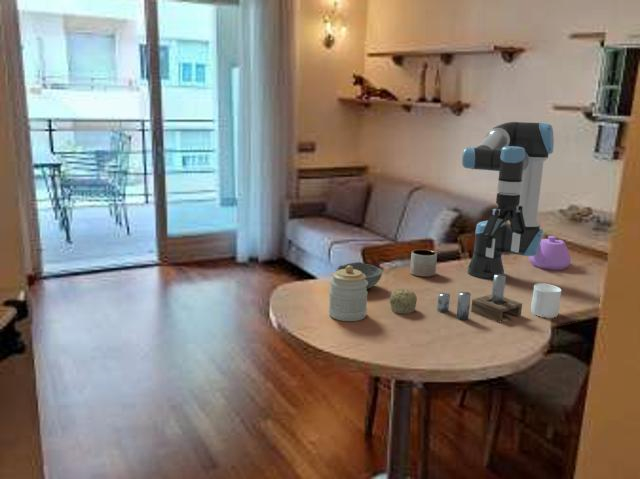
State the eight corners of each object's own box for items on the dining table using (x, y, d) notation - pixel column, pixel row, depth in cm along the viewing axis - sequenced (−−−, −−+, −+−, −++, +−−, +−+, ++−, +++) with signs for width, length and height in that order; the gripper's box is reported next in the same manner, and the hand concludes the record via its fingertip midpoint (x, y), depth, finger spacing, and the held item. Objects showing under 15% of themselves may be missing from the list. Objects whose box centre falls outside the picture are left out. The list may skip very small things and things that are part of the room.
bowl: (348, 297, 220) (349, 277, 218) (328, 283, 236) (329, 264, 234) (390, 292, 227) (391, 272, 225) (368, 279, 243) (369, 260, 241)
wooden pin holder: (493, 305, 216) (494, 293, 215) (520, 315, 207) (522, 303, 206) (471, 311, 209) (472, 299, 208) (498, 322, 200) (500, 309, 199)
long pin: (495, 310, 211) (499, 273, 208) (504, 314, 208) (508, 276, 204) (487, 312, 209) (491, 274, 205) (496, 316, 205) (501, 277, 202)
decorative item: (392, 315, 214) (379, 296, 209) (411, 297, 216) (399, 278, 211) (406, 325, 205) (392, 305, 201) (426, 306, 207) (413, 286, 203)
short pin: (442, 307, 212) (443, 291, 211) (450, 311, 209) (452, 295, 208) (434, 309, 210) (436, 293, 209) (443, 313, 207) (444, 297, 205)
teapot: (545, 257, 285) (548, 230, 282) (579, 266, 272) (583, 237, 269) (514, 265, 270) (517, 236, 267) (549, 275, 257) (553, 244, 254)
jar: (356, 325, 194) (358, 273, 190) (321, 317, 200) (323, 266, 196) (372, 313, 205) (375, 264, 201) (339, 305, 211) (341, 258, 207)
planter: (435, 278, 247) (437, 256, 244) (409, 276, 249) (410, 254, 246) (435, 271, 257) (437, 250, 255) (410, 269, 259) (411, 248, 257)
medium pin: (461, 315, 205) (464, 290, 203) (470, 319, 202) (473, 294, 200) (453, 317, 203) (456, 292, 201) (462, 321, 200) (465, 296, 198)
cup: (543, 320, 203) (547, 293, 201) (523, 310, 212) (526, 284, 210) (564, 316, 207) (568, 290, 205) (543, 307, 216) (546, 282, 214)
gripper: (522, 188, 208) (515, 247, 213) (475, 194, 194) (469, 256, 199) (540, 192, 202) (533, 251, 207) (493, 198, 188) (487, 262, 193)
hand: (502, 254), depth 203 cm, fingers open, 13 cm apart
